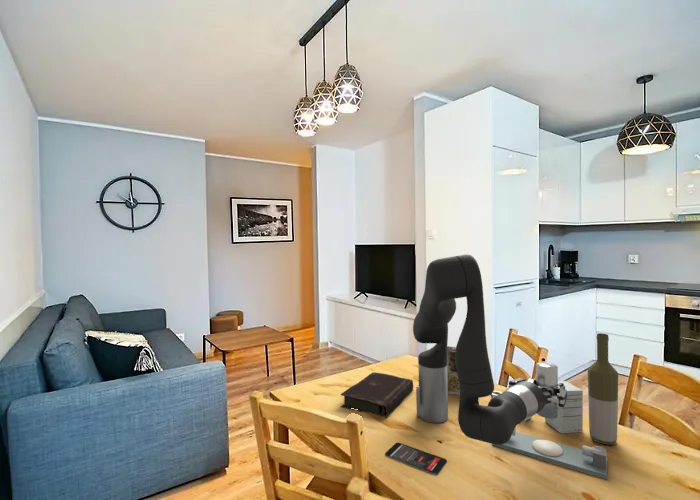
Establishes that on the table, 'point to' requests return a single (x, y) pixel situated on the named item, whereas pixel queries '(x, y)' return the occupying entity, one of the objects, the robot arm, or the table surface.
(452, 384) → the coffee box
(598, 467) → the shaft bench
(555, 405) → the sleeve
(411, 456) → the smartphone
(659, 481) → the table surface
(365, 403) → the diary
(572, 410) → the supplement box
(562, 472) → the table surface
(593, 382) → the bottle
